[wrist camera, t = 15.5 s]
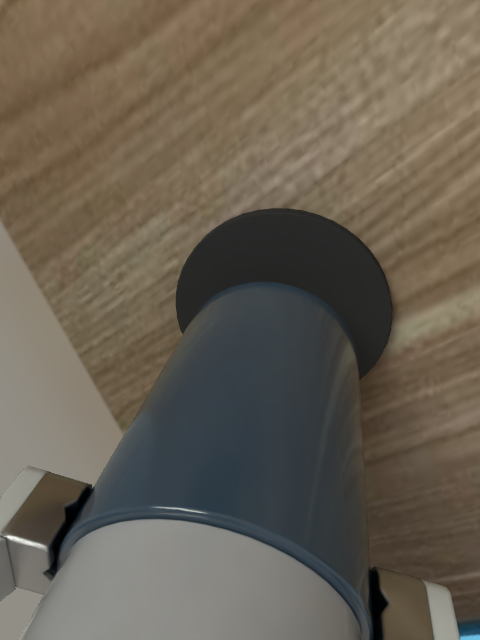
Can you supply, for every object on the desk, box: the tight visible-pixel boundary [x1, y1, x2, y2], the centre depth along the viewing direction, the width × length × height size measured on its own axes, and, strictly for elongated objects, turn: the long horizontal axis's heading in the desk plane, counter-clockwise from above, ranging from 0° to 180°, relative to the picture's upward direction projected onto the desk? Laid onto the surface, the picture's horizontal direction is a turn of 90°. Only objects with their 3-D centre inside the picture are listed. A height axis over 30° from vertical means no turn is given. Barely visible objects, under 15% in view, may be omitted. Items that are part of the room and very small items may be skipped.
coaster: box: [176, 208, 392, 380], centre depth 19 cm, size 9×9×1 cm
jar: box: [19, 282, 374, 640], centre depth 12 cm, size 12×6×12 cm
